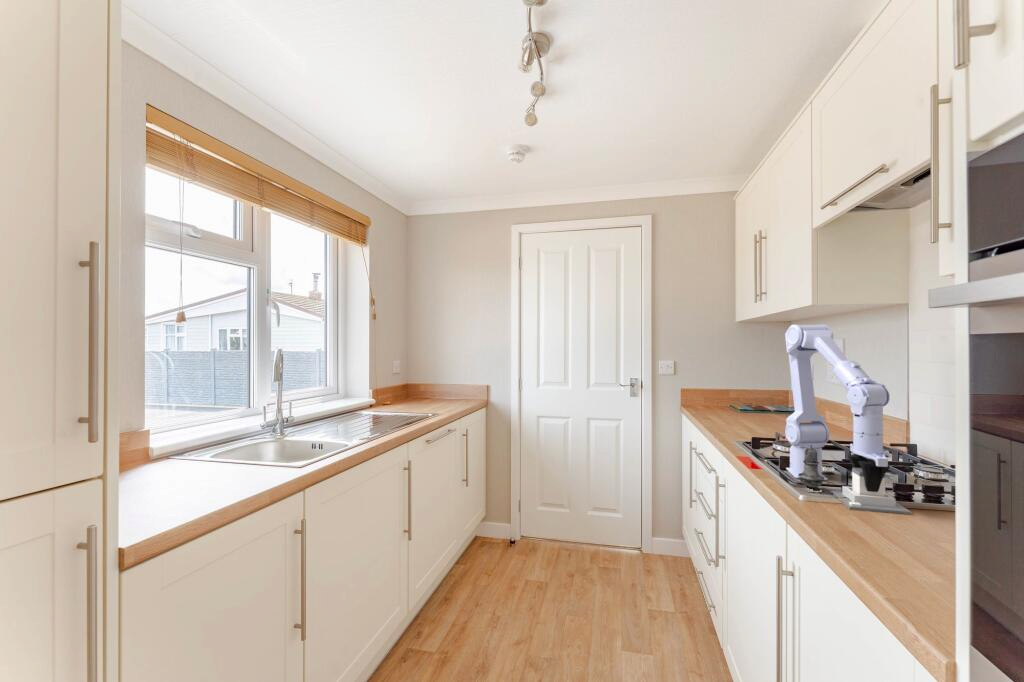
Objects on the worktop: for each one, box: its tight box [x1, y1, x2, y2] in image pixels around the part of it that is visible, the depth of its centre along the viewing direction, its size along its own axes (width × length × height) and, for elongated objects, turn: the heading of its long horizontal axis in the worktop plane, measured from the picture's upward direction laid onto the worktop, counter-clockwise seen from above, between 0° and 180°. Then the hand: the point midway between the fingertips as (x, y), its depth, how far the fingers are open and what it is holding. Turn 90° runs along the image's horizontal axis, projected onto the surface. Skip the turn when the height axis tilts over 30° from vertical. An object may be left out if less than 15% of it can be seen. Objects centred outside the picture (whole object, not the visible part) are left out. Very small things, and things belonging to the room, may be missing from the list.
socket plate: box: [829, 485, 912, 516], centre depth 111 cm, size 12×12×3 cm
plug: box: [851, 467, 886, 497], centre depth 111 cm, size 4×5×6 cm
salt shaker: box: [798, 445, 825, 491], centre depth 120 cm, size 6×6×12 cm
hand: (867, 488), depth 111 cm, fingers closed on plug, 4 cm apart
